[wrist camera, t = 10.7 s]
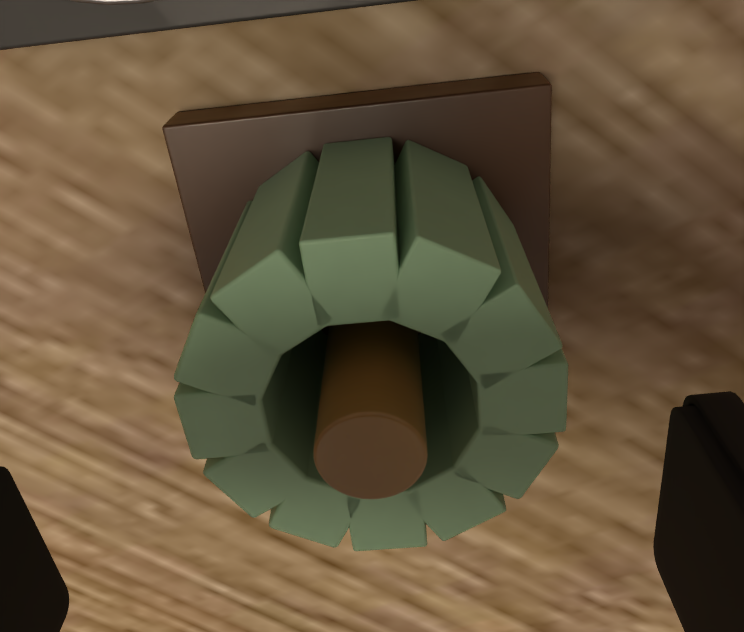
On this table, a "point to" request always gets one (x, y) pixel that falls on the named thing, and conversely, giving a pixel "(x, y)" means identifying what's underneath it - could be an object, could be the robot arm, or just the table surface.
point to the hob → (140, 17)
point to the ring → (370, 304)
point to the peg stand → (400, 122)
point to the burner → (113, 1)
